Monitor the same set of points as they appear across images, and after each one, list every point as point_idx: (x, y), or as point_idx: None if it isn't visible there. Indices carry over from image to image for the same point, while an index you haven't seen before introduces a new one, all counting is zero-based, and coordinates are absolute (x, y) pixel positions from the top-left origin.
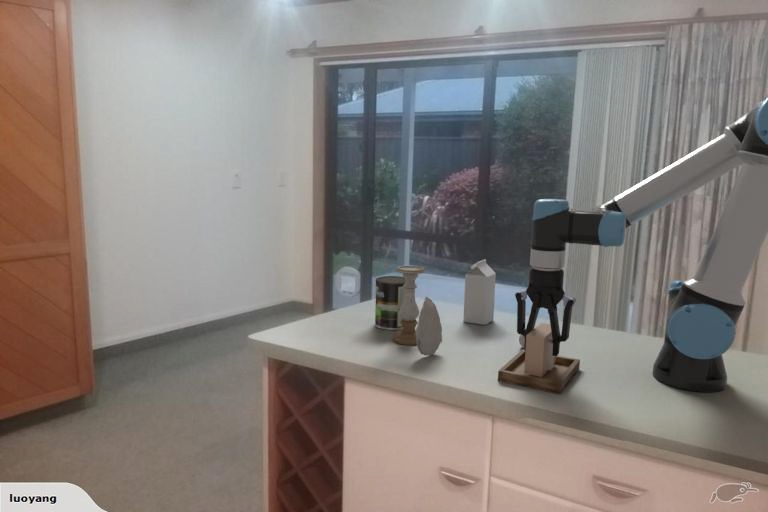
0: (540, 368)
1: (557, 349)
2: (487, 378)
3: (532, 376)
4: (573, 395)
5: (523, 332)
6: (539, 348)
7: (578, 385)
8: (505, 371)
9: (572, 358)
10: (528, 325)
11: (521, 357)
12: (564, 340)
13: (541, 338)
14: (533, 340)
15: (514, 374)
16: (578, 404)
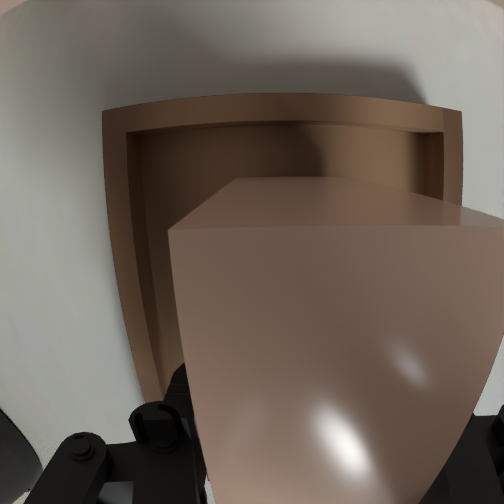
0: (246, 180)
1: (169, 396)
2: (472, 127)
3: (276, 112)
4: (81, 147)
5: (486, 433)
6: (265, 195)
7: (101, 276)
8: (432, 116)
9: None
10: (490, 498)
11: None
12: (79, 439)
13: (238, 227)
14: (386, 212)
15: (379, 98)
16: (51, 75)
